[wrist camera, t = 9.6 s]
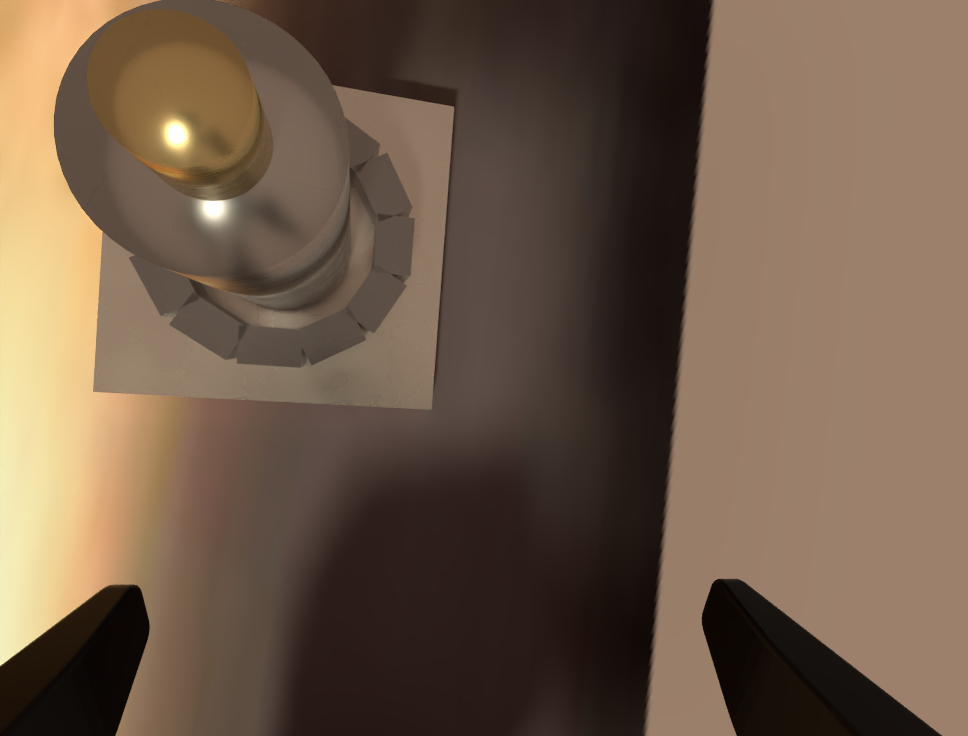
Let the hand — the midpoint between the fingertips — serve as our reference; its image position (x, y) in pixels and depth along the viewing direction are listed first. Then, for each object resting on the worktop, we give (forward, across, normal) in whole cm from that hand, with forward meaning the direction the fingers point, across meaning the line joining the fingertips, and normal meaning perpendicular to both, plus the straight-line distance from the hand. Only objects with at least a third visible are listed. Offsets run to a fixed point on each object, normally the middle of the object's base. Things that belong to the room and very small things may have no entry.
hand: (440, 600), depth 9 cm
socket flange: (+14, +5, -2) cm, 16 cm away
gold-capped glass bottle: (+14, +5, -2) cm, 15 cm away
